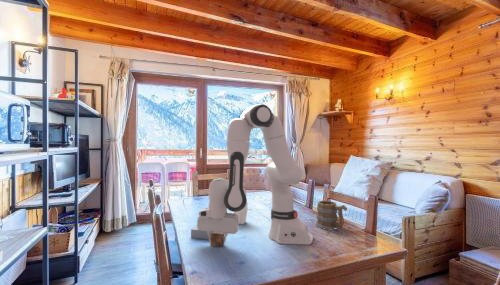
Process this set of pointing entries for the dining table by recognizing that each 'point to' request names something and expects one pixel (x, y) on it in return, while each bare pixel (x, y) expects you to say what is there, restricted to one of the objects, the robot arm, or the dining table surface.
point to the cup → (242, 215)
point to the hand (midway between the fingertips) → (217, 240)
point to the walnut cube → (217, 239)
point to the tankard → (329, 215)
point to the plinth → (199, 233)
